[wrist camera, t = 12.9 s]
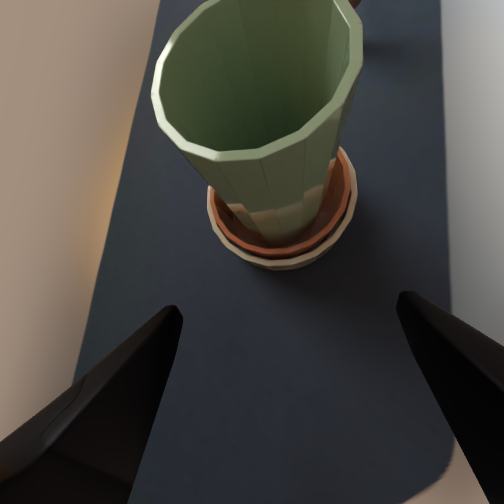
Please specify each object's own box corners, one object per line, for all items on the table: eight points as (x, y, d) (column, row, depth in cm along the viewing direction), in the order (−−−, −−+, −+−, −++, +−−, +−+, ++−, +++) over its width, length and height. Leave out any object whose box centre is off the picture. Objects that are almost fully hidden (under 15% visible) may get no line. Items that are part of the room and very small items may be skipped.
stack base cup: (373, 216, 17) (394, 195, 13) (270, 296, 18) (262, 297, 14) (290, 136, 20) (288, 99, 16) (204, 207, 21) (183, 188, 17)
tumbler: (332, 230, 17) (409, 93, 5) (256, 257, 18) (175, 195, 6) (302, 163, 19) (310, -60, 7) (234, 191, 20) (136, 41, 8)
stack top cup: (361, 215, 17) (384, 187, 13) (271, 285, 18) (261, 283, 13) (289, 144, 20) (286, 98, 15) (212, 207, 21) (186, 182, 16)
